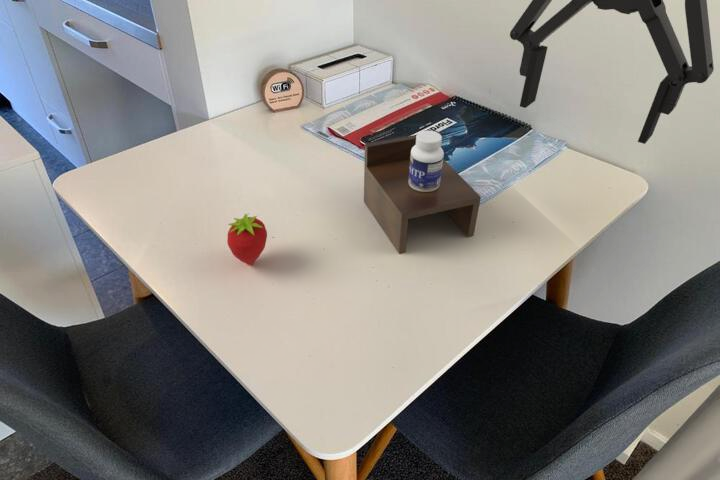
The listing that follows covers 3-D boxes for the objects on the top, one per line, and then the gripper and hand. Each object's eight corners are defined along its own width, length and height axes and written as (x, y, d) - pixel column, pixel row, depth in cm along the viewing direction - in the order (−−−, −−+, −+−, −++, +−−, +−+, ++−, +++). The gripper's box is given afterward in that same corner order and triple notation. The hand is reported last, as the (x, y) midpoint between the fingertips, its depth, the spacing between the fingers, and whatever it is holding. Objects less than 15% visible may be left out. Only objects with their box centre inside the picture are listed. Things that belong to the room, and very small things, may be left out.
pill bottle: (401, 181, 87) (405, 133, 82) (426, 172, 90) (431, 125, 84) (421, 196, 84) (426, 147, 78) (446, 187, 86) (453, 138, 81)
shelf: (473, 235, 89) (485, 175, 82) (399, 254, 85) (403, 192, 78) (431, 187, 101) (437, 130, 93) (363, 201, 97) (364, 143, 89)
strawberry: (274, 248, 86) (268, 198, 80) (265, 280, 80) (258, 228, 74) (238, 247, 86) (229, 197, 80) (227, 278, 80) (216, 227, 74)
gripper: (823, -93, 42) (710, 141, 56) (535, -115, 55) (499, 82, 68) (814, -83, 38) (693, 170, 51) (502, -109, 50) (470, 100, 63)
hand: (582, 120), depth 60 cm, fingers open, 13 cm apart
